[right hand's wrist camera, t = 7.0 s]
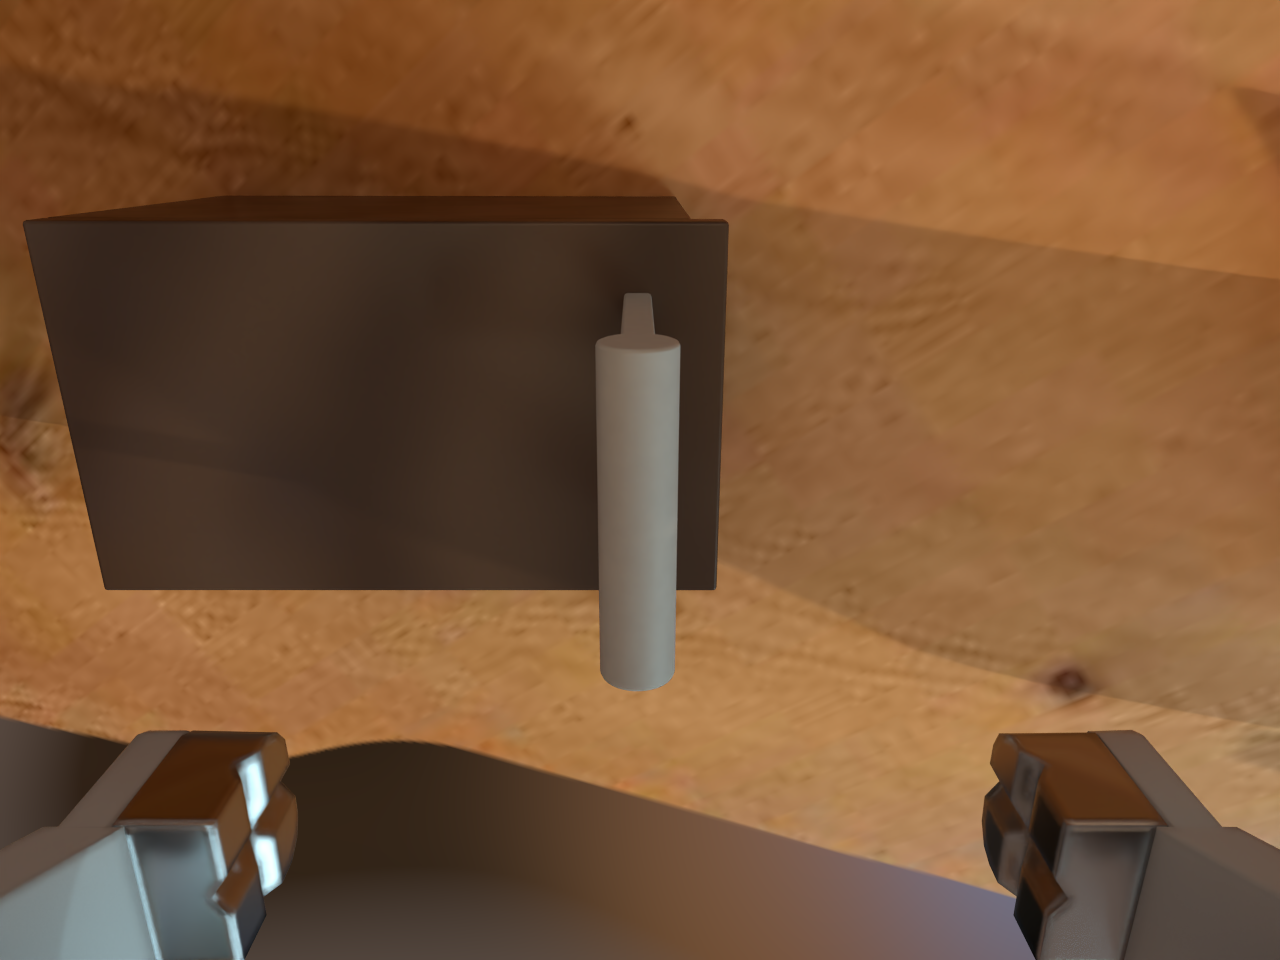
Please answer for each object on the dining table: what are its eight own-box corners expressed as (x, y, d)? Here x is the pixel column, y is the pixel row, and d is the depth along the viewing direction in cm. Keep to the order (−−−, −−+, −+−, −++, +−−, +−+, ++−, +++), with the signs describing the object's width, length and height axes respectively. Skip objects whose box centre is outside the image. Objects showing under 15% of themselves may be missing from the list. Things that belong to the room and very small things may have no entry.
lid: (726, 219, 24) (772, 256, 16) (714, 577, 27) (746, 758, 19) (41, 217, 23) (-265, 255, 16) (119, 577, 27) (-97, 758, 19)
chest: (675, 196, 34) (692, 218, 24) (671, 459, 37) (684, 577, 27) (222, 195, 34) (42, 217, 24) (261, 458, 37) (120, 576, 27)
